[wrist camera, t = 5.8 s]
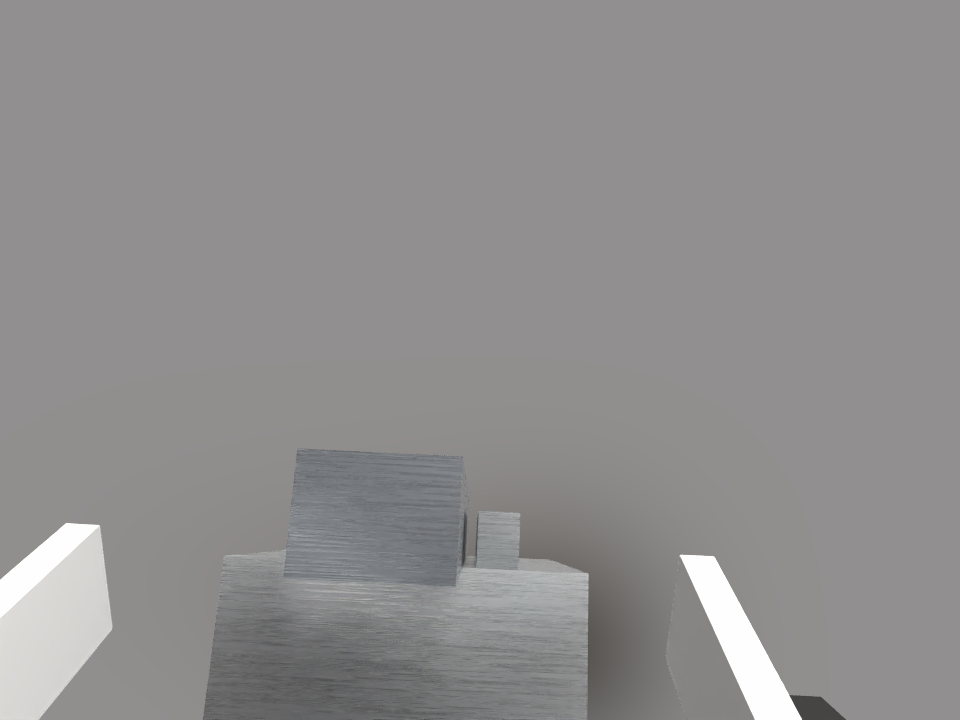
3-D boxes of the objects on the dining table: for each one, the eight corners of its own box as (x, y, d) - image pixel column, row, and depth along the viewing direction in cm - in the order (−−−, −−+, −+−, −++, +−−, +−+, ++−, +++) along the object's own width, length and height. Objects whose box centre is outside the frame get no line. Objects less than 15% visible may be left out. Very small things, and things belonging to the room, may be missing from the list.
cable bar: (282, 578, 16) (297, 448, 17) (395, 551, 39) (399, 497, 40) (455, 586, 16) (462, 456, 17) (466, 554, 39) (469, 500, 40)
